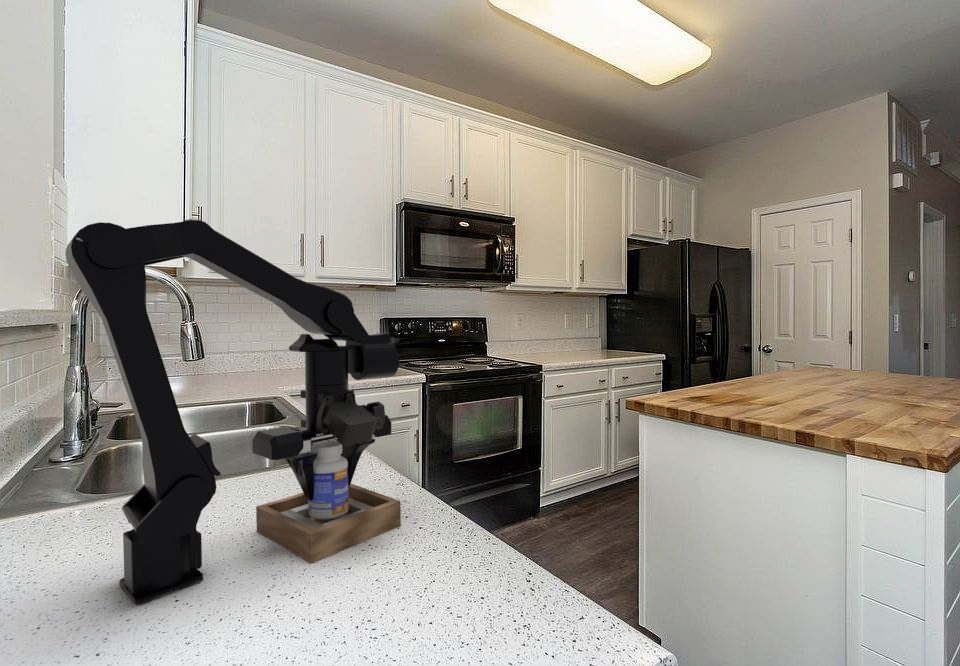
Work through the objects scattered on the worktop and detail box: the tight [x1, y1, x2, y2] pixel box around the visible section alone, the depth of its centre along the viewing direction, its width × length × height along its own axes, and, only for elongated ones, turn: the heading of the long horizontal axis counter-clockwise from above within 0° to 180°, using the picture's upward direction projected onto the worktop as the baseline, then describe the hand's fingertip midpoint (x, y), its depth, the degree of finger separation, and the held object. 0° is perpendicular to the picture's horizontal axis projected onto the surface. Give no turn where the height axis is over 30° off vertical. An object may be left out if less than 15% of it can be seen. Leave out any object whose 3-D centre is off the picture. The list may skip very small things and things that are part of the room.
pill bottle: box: [308, 440, 349, 520], centre depth 68 cm, size 5×5×10 cm
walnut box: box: [255, 483, 402, 564], centre depth 68 cm, size 14×14×4 cm
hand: (328, 494), depth 68 cm, fingers closed on pill bottle, 5 cm apart
